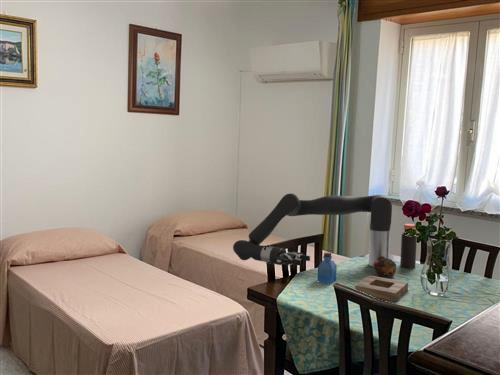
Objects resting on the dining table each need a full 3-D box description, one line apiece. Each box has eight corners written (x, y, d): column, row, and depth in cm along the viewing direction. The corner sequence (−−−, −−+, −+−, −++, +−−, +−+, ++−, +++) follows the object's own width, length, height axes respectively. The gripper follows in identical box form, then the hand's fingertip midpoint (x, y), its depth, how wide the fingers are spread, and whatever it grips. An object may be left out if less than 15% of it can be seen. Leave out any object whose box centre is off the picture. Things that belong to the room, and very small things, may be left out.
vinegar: (397, 266, 233) (399, 224, 231) (405, 263, 238) (407, 222, 235) (410, 269, 228) (412, 226, 226) (418, 266, 233) (420, 224, 230)
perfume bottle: (317, 282, 209) (318, 254, 207) (322, 278, 214) (323, 250, 213) (331, 284, 206) (332, 256, 205) (336, 280, 211) (337, 252, 210)
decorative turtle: (388, 270, 226) (389, 253, 225) (402, 281, 211) (403, 262, 210) (368, 271, 225) (368, 254, 224) (380, 281, 210) (381, 263, 209)
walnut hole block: (369, 283, 207) (369, 275, 207) (407, 290, 199) (408, 282, 198) (354, 294, 194) (355, 285, 194) (395, 302, 185) (395, 293, 185)
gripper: (264, 250, 217) (297, 255, 209) (281, 244, 229) (312, 248, 220) (264, 267, 218) (297, 273, 210) (280, 259, 230) (312, 265, 221)
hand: (305, 260), depth 215 cm, fingers open, 8 cm apart
